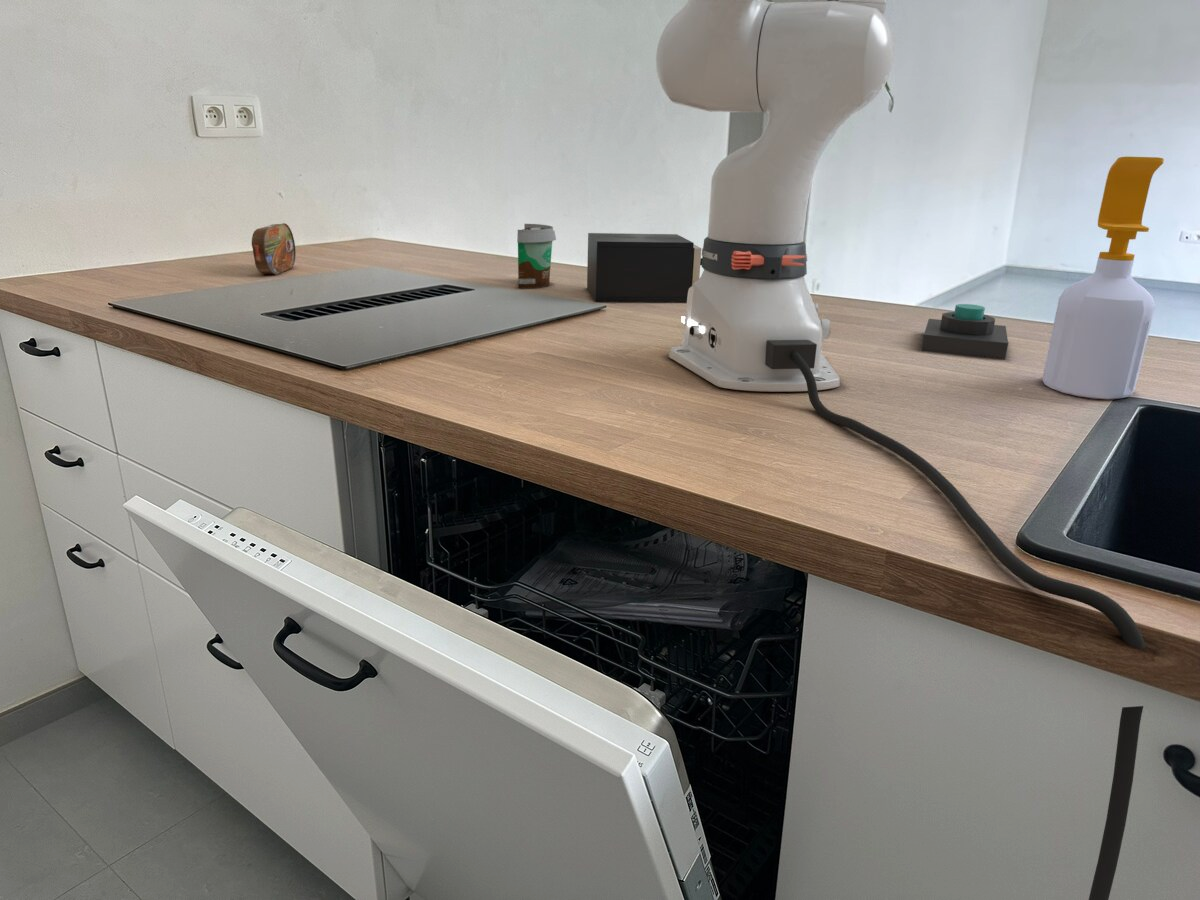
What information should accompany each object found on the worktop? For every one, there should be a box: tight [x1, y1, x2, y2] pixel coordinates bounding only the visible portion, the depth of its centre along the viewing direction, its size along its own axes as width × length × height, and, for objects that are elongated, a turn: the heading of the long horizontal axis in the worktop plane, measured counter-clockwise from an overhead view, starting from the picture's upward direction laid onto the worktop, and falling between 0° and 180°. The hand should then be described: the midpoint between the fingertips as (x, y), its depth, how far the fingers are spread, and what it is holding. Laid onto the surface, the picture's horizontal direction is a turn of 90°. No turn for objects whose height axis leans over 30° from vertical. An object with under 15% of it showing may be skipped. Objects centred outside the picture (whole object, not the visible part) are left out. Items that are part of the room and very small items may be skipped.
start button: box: [953, 303, 986, 320], centre depth 113 cm, size 4×4×2 cm
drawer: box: [691, 244, 702, 287], centre depth 144 cm, size 19×11×8 cm, turn 97°
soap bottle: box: [1042, 156, 1165, 400], centre depth 92 cm, size 9×9×25 cm
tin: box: [251, 222, 297, 276], centre depth 158 cm, size 15×3×8 cm, turn 179°
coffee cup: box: [516, 223, 557, 289], centre depth 152 cm, size 12×6×10 cm, turn 179°
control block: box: [921, 311, 1009, 361], centre depth 114 cm, size 12×10×4 cm
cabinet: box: [586, 232, 695, 303], centre depth 144 cm, size 16×13×10 cm
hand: (827, 113), depth 124 cm, fingers closed
